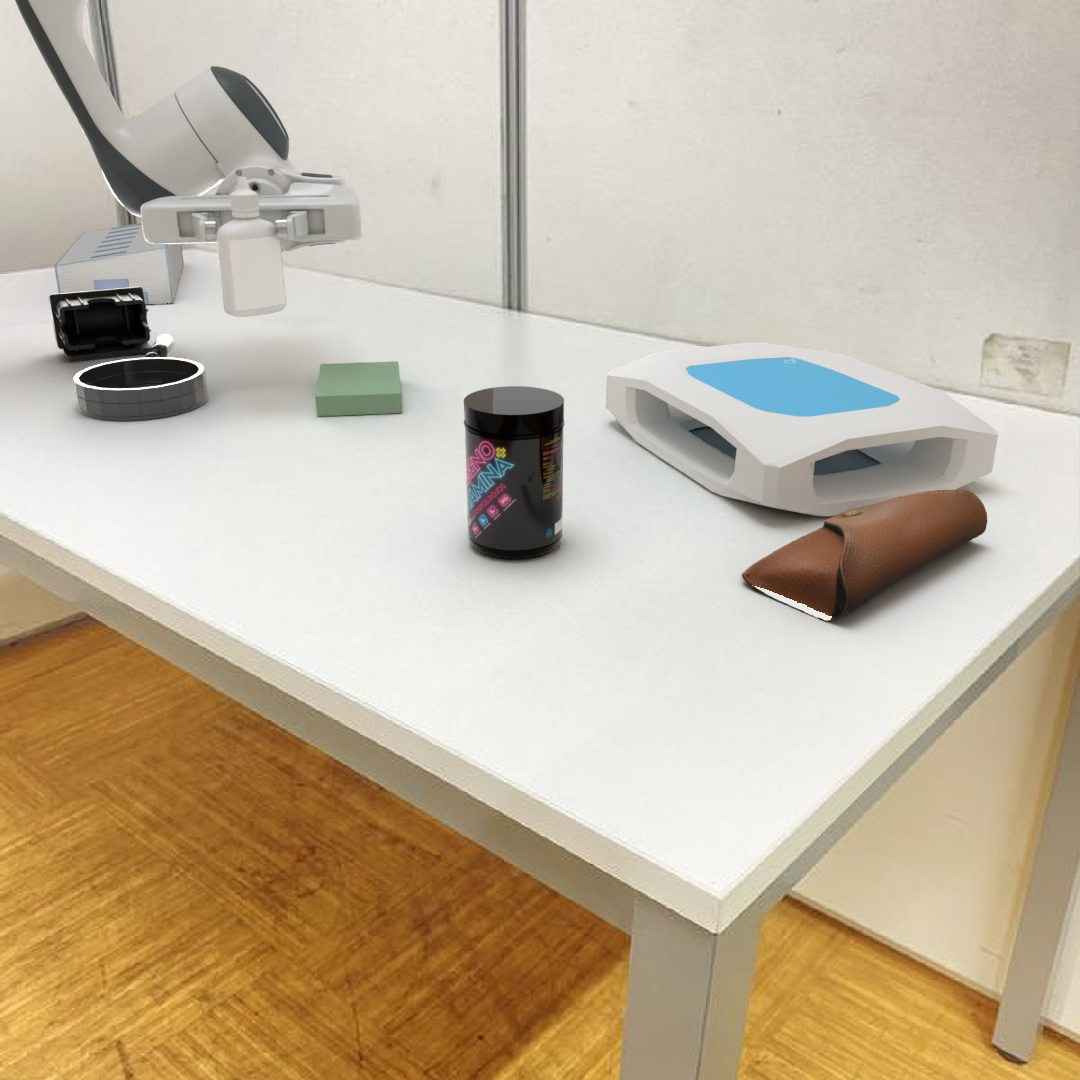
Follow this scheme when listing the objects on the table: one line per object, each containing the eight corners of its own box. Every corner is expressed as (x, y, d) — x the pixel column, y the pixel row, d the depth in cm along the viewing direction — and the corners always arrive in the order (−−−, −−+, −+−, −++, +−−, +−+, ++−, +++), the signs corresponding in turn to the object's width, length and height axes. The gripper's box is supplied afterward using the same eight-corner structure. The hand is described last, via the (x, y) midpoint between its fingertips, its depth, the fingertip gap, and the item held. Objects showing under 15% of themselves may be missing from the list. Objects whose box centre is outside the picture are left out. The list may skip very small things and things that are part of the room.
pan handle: (143, 371, 116) (141, 354, 115) (159, 348, 124) (157, 332, 124) (161, 371, 116) (159, 354, 115) (176, 348, 125) (174, 332, 124)
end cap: (146, 339, 135) (137, 282, 132) (156, 352, 129) (148, 293, 126) (56, 348, 130) (46, 290, 128) (63, 362, 125) (52, 301, 122)
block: (317, 416, 107) (315, 396, 106) (321, 382, 117) (320, 363, 117) (402, 413, 108) (401, 393, 107) (399, 379, 118) (398, 361, 118)
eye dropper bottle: (287, 315, 104) (274, 179, 99) (223, 318, 102) (208, 180, 98) (286, 305, 107) (274, 174, 103) (225, 308, 106) (210, 175, 102)
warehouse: (88, 269, 177) (80, 219, 174) (184, 265, 180) (178, 216, 177) (61, 308, 150) (51, 250, 147) (173, 303, 154) (166, 246, 150)
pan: (65, 423, 104) (59, 392, 103) (93, 388, 115) (89, 359, 114) (198, 418, 106) (194, 387, 105) (214, 383, 117) (211, 355, 116)
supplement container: (474, 522, 83) (471, 384, 79) (566, 526, 82) (568, 387, 78) (460, 560, 77) (455, 413, 72) (559, 565, 76) (560, 416, 72)
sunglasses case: (877, 505, 84) (930, 443, 80) (945, 573, 82) (1004, 513, 77) (731, 578, 73) (783, 510, 68) (806, 660, 70) (865, 595, 66)
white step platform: (766, 529, 82) (773, 447, 79) (601, 421, 105) (603, 355, 103) (995, 490, 89) (1008, 413, 86) (792, 397, 113) (798, 335, 110)
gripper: (149, 178, 111) (121, 196, 99) (359, 175, 114) (358, 192, 101) (157, 244, 114) (131, 269, 101) (363, 239, 116) (362, 263, 104)
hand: (247, 230), depth 101 cm, fingers closed on eye dropper bottle, 5 cm apart
